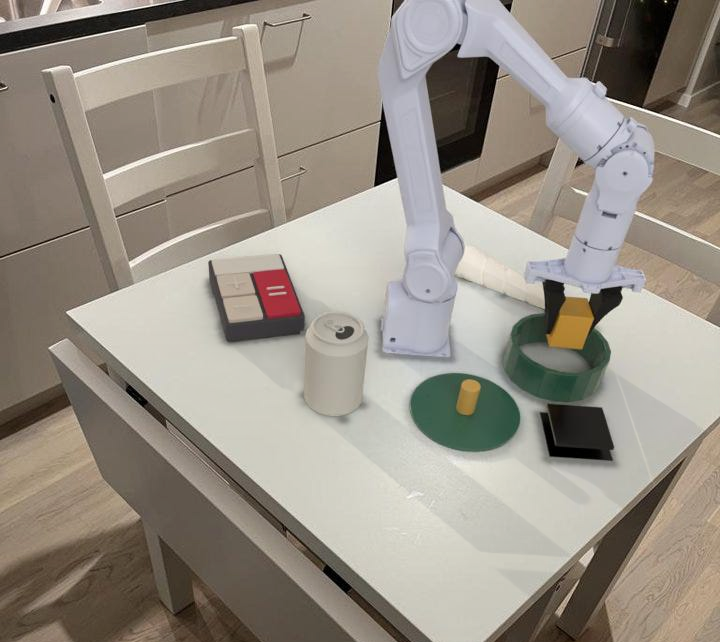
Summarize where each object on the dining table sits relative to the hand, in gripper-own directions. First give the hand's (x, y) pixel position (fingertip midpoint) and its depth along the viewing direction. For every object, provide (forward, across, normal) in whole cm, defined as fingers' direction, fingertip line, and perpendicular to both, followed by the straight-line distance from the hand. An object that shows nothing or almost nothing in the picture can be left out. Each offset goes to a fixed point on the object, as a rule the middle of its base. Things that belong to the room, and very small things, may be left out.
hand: (564, 331), depth 97 cm
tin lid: (+7, -13, -10) cm, 18 cm away
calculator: (+8, -42, +10) cm, 44 cm away
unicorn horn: (+7, -2, +18) cm, 19 cm away
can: (+7, -30, -9) cm, 32 cm away
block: (+1, 0, 0) cm, 1 cm away
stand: (+7, +1, -13) cm, 15 cm away
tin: (+7, 0, 0) cm, 7 cm away
